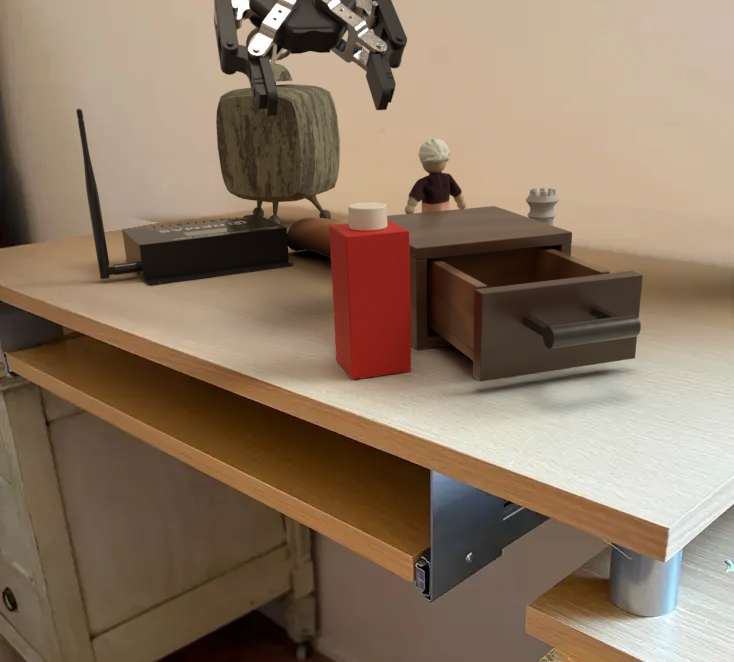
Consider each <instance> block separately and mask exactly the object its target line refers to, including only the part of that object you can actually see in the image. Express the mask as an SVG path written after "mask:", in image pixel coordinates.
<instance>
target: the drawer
mask: <svg viewBox="0 0 734 662" xmlns="http://www.w3.org/2000/svg"><path fill="white" fill-rule="evenodd" d="M643 278H644V275H643V274H642V273H640V272H637V271H635V270H627V271H619V272H611V271H610V270H609V269H606V268H603V267H601V266H598V265H596V264H593V263H591V262H588V261H586V260H583V259H580V258H578V257H575V256H573V255H571V256H570V255H568V254H565V253H562V252H560V251H557V250H555V249H552V248H549V247H547V246H545V247H535V248H526V249H516V250H507V251H498V252H488V253H479V254H470V255H460V256H451V257H441V258H432V259H427V326H428V327H430V328H431V329H432V330H434V331H435V332H436V333H438V334H439V335H440V336H441V337H443V338H444V339H445V340H447V341H448V342H449V343H451V344H452V345H451V346H453V347H454V348H456V349H457V350H458V351H460V352H461V353H463V354H464V355H465V356H466V357H468V358H469V359H470V360H472V361H473V365H472V367H473V368H472V376H473V377H474V378H476V380H478V381H479V382H487V381H495V380H499V379H501V380H502V379H507V378H515V377H521V376H526V375H533V374H541V373H547V372H553V371H560V370H566V369H572V368H579V367H586V366H593V365H599V364H607V363H613V362H621V361H628V360H634V359H636V353H637V343H638V336H639V335H640V333H641V330H642V323H641V320H640V312H641V311H640V310H641V300H642V288H643Z"/></svg>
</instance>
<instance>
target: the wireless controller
mask: <svg viewBox="0 0 734 662" xmlns="http://www.w3.org/2000/svg"><path fill="white" fill-rule="evenodd" d="M83 113H84V112H83V110H82V109H81V108H77V109H76V117H77V123H78V124H77V125H78V130H79V137H80V142H81V149H82V150H81V151H82V158H83V167H84V168H83V169H84V179H85V189H86V198H87V202H88V210H89V215H90V222H91V229H92V235H93V240H94V241H93V242H94V247H95V253H96V259H97V265H98V271H99V277H100V279H101V280H109V279H110V276H118V275H126V274H135V273H136V274H137V275H138V276H139V277H140V278H141V279H142V281H144V282H145V284H146V285H148V286H156V285H163V284H170V283H179V282H186V281H193V280H200V279H201V280H202V279H207V278H214V277H216V278H217V277H221V276H230V275H236V274H244V273H252V272H257V271H259V272H260V271H266V270H273V269H281V268H287V267H293V266H294V264H293V263H291V262H290V253H289V247H288V238H287V233H288V228H287V227H286V226H284V225H282V224H281V223H280V224H278V223H276V222H273V221H271V220H269V218H267V217H264V216H263V217H262V216H260V215H258V214H255V215H253V214H247V215H243V217H241V218H239V217H235V218H232V219H231V218H227V219H222V218H221V219H220V220H215V219H213V220H212V219H211V220H210V221H205V220H203V221H202V222H197V221H195V222H194V223H189V222H187V223H186V224H181V223H177V224H176V225H171V224H168V226H163V225H160V227H155V226H152V228H147V227H145V226H138V227H137V226H136V227H130V228H128V227H127V228H122V229H121V232H122V237H123V238H122V239H123V245H124V252H125V253H124V254H125V262H121V263H113V264H110V260H109V253H108V246H107V240H106V234H105V233H106V232H105V227H104V222H103V221H104V220H103V215H102V208H101V201H100V197H99V195H100V194H99V190H98V185H97V181H96V177H95V173H94V168H93V165H92V160H91V155H90V150H89V145H88V137H87V132H86V126H85V120H84V114H83Z"/></svg>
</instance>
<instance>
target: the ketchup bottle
mask: <svg viewBox="0 0 734 662" xmlns="http://www.w3.org/2000/svg"><path fill="white" fill-rule="evenodd" d="M347 210H348V212H347V213H348V223H347V224H338V225H330V226H329V232H330V251H331V257H330V268H331V269H330V270H331V286H332V287H331V288H332V305H333V306H332V307H333V325H334V344H335V345H334V346H335V347H334V348H335V360H336V361H337V363H338V364H339V365H340V366H341V368H342V369H343V370H344V371H345V372H346V373H347V375H348V376H349V377H350V378H351V379H352V380H359V379H365V378H372V377H373V378H374V377H380V376H386V375H394V374H401V373H407V372H412V345H411V317H410V250H409V230H407V229H405V228H403V227H401V226H399V225H397V224H395V223H393V222H391V221H389V220H387V216H388V206H387V203H383V202H374V201H372V202H371V201H369V202H368V201H367V202H355V203H352V204H349V205H348V209H347Z"/></svg>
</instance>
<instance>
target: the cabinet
mask: <svg viewBox="0 0 734 662" xmlns="http://www.w3.org/2000/svg"><path fill="white" fill-rule="evenodd" d="M387 220H389V221H391V222H393V223H395V224H397V225H399V226H401V227H403V228H405V229H407V230H409V250H410V317H411V347H414V348H415V349H416V350H423V349H424V350H425V349H432V348H439V347H445V346H453V345H452V344H451V343H449V342H448V341H447V340H445V339H444V338H443V337H441V336H440V335H439V334H438V333H436V332H435V331H434V330H432V329H431V328H430V327H428V326H427V259H432V258H441V257H451V256H460V255H470V254H479V253H488V252H498V251H507V250H516V249H526V248H535V247H545V246H547V247H549V248H552V249H555V250H557V251H560V252H562V253H565V254H568V255H570V256H572V243H573V242H572V241H573V232H572V231H569V230H567V229H564V228H561V227H558V226H556V225H555V226H554V225H553V226H552V225H549V224H546V223H543V222H540V221H537V220H534V219H531V218H529V217H528V216H526V215H522V214H519V213H516V212H514V211H510V210H507V209H505V208H502V207H498V206H495V205H491V206H479V207H467V208H464V209H459V208H457V209H450V210H445V211H434V212H423V213H422V212H414V213H412V214H406V213H403V214H392V215H391V214H390V215H387Z"/></svg>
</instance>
